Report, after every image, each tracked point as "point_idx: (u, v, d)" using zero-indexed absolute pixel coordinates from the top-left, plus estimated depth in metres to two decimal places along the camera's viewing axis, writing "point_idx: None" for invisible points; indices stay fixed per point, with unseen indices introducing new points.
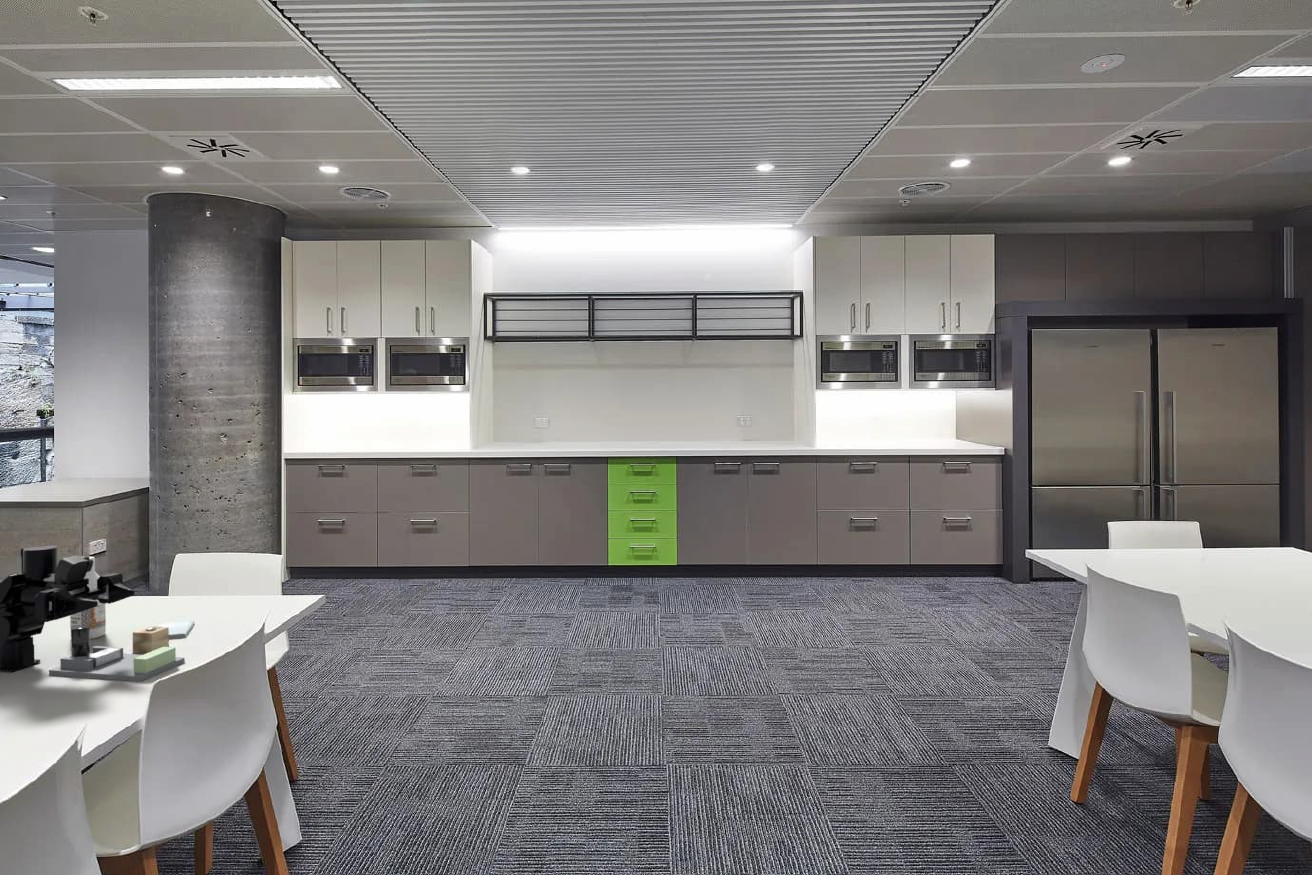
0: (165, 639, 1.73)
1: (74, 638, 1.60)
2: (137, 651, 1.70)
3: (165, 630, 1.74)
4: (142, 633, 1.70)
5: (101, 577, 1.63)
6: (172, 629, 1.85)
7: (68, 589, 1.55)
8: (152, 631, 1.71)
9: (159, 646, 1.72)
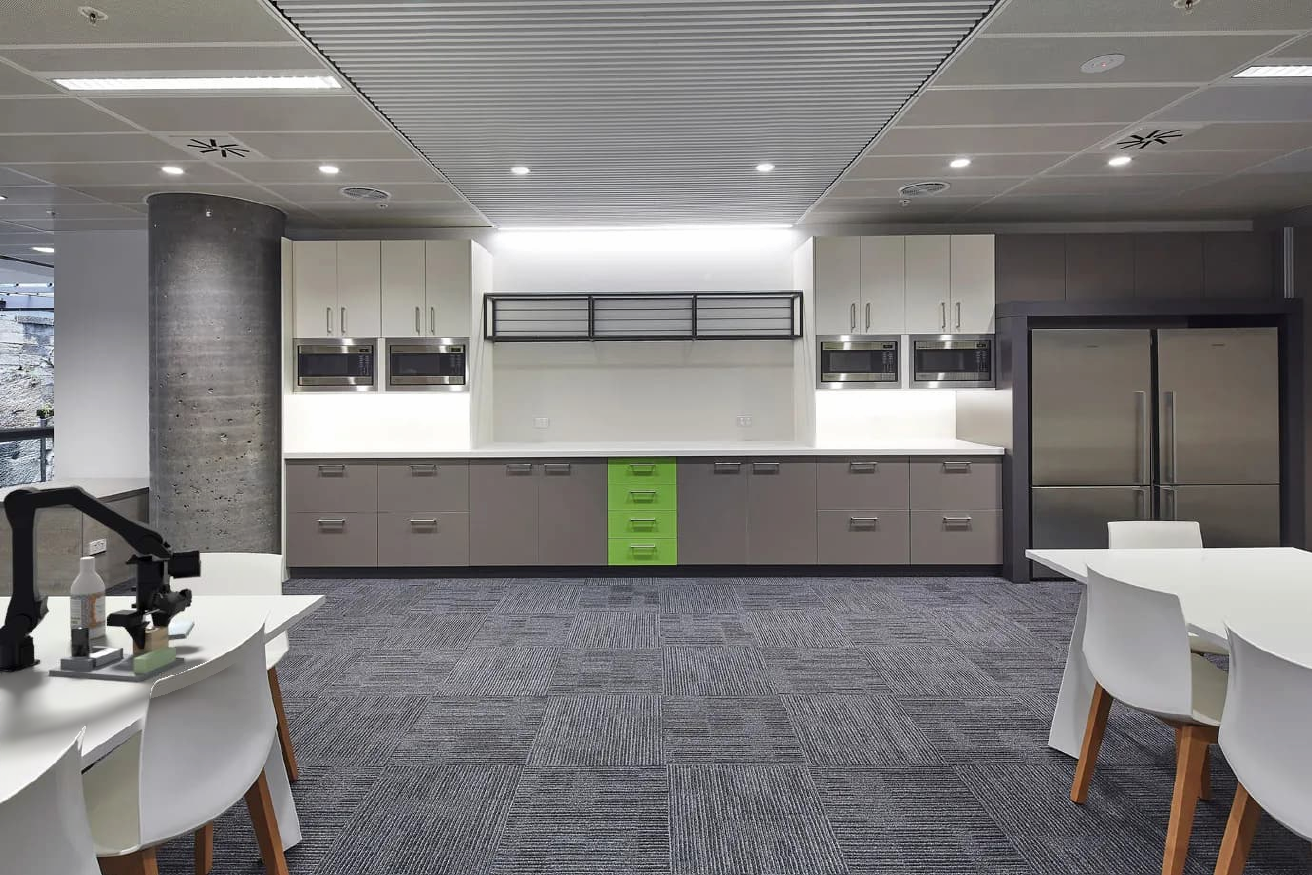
0: (165, 639, 1.73)
1: (74, 638, 1.60)
2: (137, 651, 1.70)
3: (165, 630, 1.74)
4: None
5: None
6: (172, 629, 1.85)
7: None
8: (152, 631, 1.71)
9: (159, 645, 1.72)
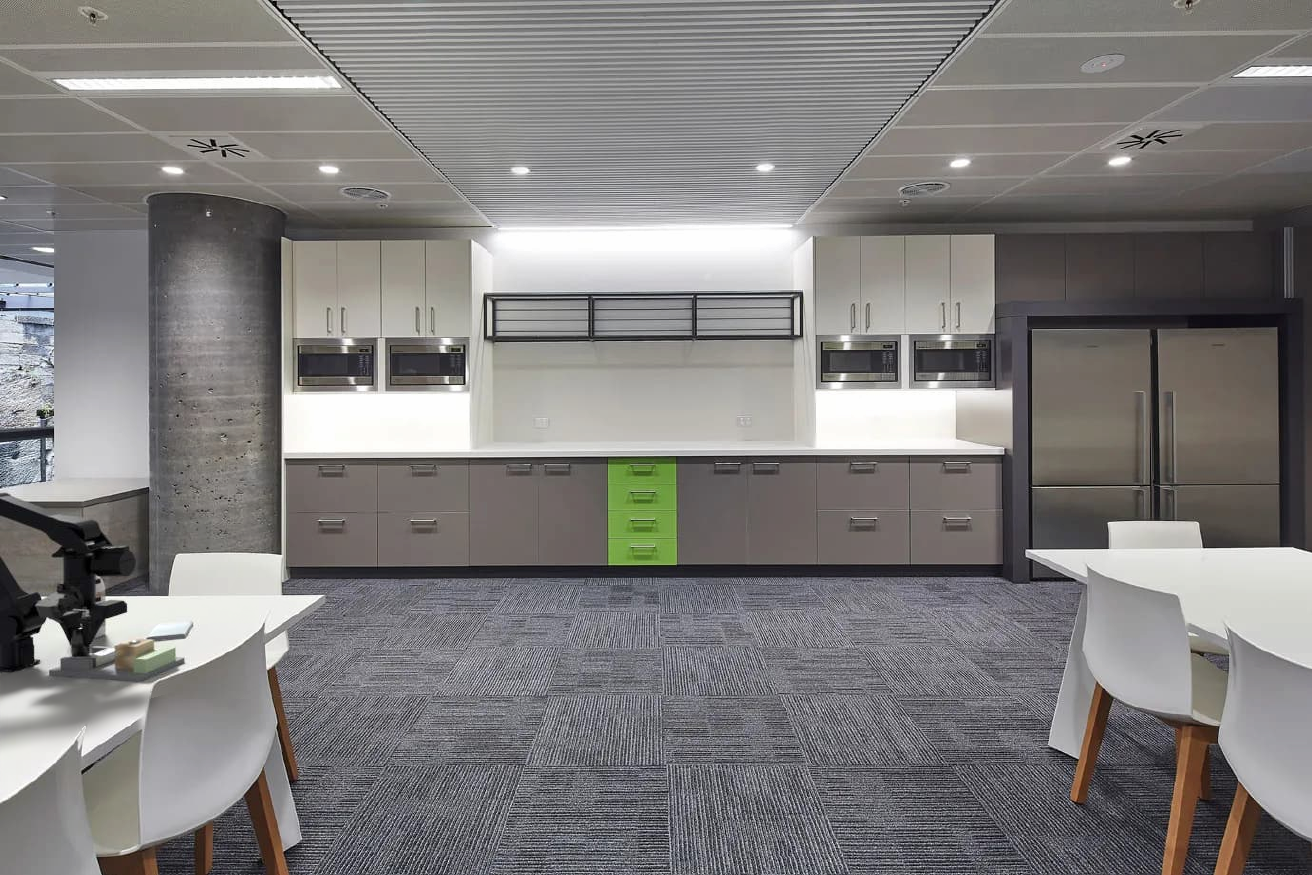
0: None
1: (74, 638, 1.60)
2: (120, 666, 1.57)
3: (151, 643, 1.61)
4: (125, 646, 1.57)
5: None
6: (171, 629, 1.85)
7: None
8: (136, 644, 1.58)
9: None
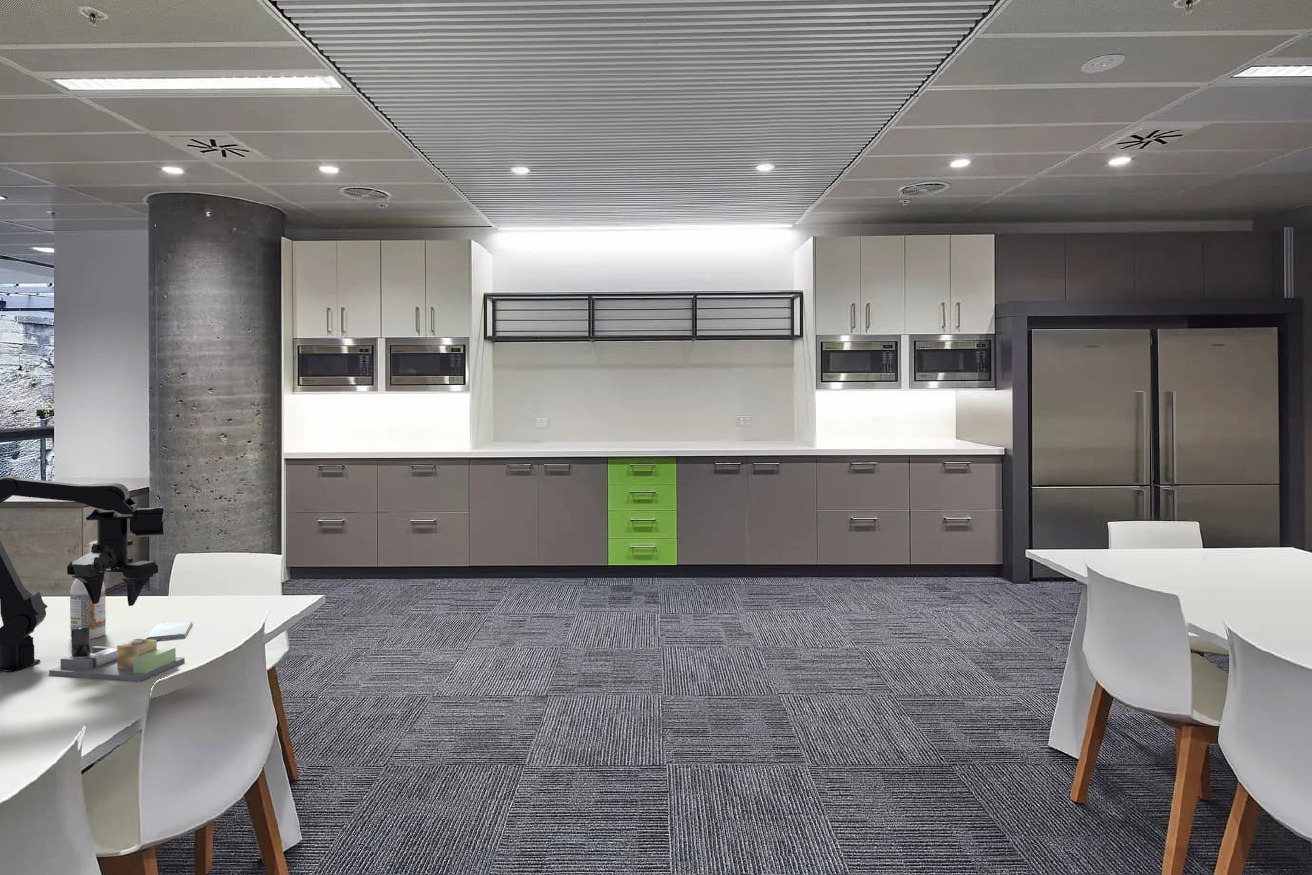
0: None
1: (74, 638, 1.60)
2: (122, 666, 1.57)
3: (153, 643, 1.61)
4: (127, 647, 1.57)
5: None
6: (171, 629, 1.85)
7: None
8: (138, 644, 1.58)
9: None
